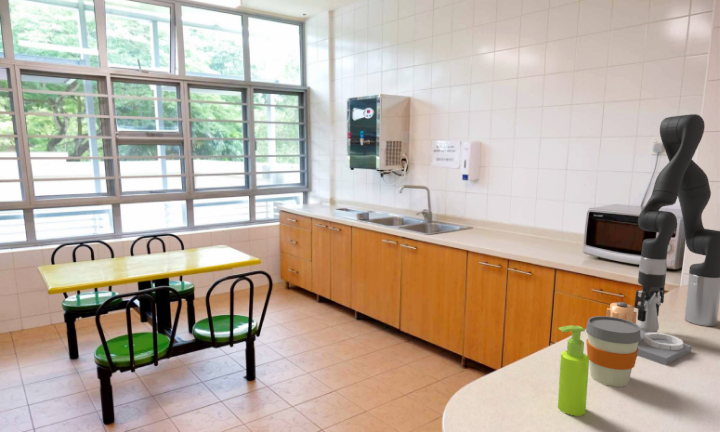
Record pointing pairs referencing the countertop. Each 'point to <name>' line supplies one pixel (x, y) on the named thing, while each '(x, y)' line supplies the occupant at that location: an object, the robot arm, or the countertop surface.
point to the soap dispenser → (573, 374)
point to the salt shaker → (650, 318)
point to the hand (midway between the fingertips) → (647, 318)
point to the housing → (651, 338)
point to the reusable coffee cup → (612, 349)
